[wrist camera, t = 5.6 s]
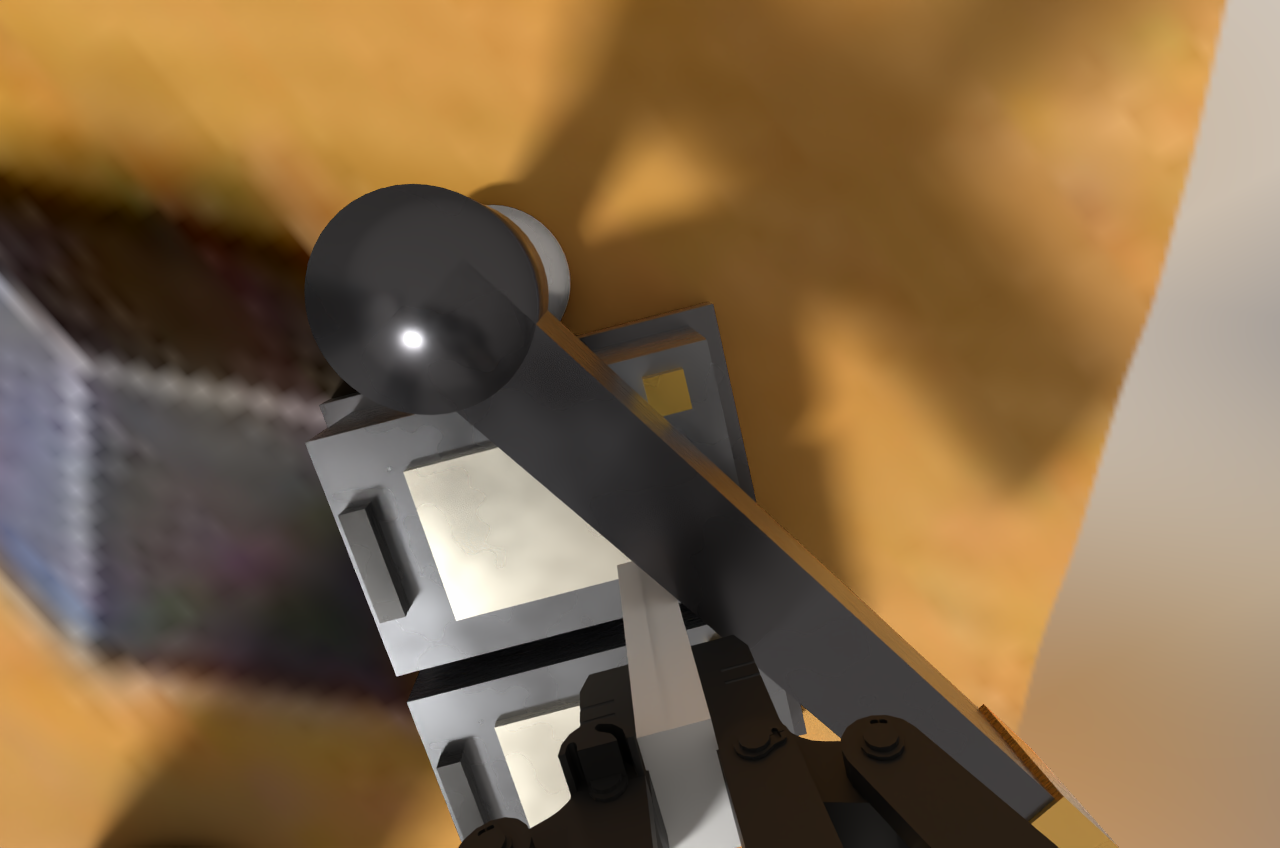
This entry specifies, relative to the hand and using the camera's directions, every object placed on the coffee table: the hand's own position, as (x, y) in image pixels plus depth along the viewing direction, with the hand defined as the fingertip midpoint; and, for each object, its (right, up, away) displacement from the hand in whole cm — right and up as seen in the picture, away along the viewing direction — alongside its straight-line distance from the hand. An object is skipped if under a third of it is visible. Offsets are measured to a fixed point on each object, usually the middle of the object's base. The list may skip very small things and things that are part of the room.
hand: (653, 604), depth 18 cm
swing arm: (+2, +2, +1) cm, 3 cm away
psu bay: (-3, -1, +9) cm, 9 cm away
